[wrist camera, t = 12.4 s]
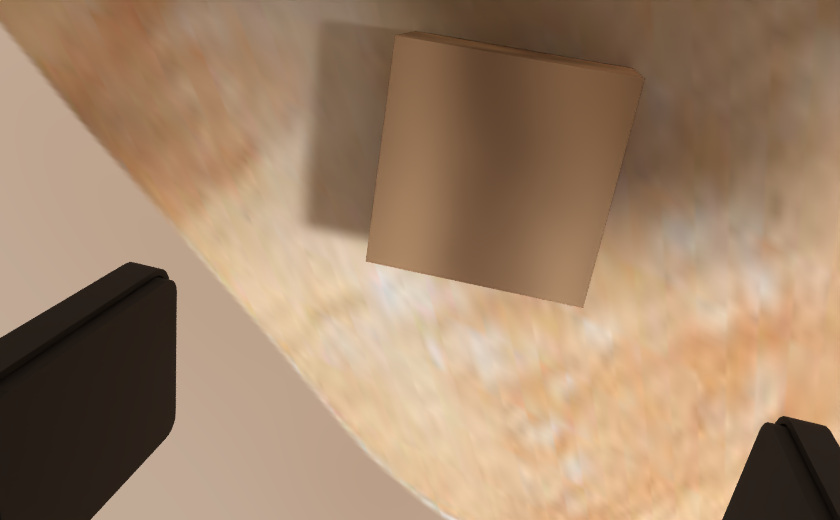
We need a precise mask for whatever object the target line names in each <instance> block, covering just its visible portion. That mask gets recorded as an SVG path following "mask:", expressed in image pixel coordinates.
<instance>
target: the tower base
mask: <svg viewBox="0 0 840 520" xmlns="http://www.w3.org/2000/svg"><path fill="white" fill-rule="evenodd" d="M644 80H645V78H643V77H642V76H641V75H640V74H639V73H638V72H636V71H635V70H634V69H633V68H627V67H621V66H615V65H610V64H604V63H598V62H592V61H586V60H580V59H575V58H569V57H563V56H557V55H551V54H546V53H540V52H534V51H528V50H522V49H516V48H511V47H505V46H499V45H493V44H487V43H482V42H476V41H470V40H464V39H458V38H453V37H447V36H441V35H435V34H429V33H423V32H418V31H414V32H410V33H405V34H400V35H395V40H394V48H393V56H392V63H391V71H390V79H389V86H388V94H387V102H386V110H385V117H384V125H383V133H382V140H381V148H380V156H379V163H378V171H377V179H376V186H375V194H374V202H373V210H372V217H371V225H370V233H369V240H368V248H367V256H366V261H367V262H371V263H376V264H381V265H385V266H390V267H395V268H399V269H404V270H408V271H413V272H418V273H422V274H427V275H432V276H436V277H441V278H446V279H450V280H455V281H460V282H464V283H469V284H474V285H478V286H483V287H488V288H492V289H497V290H502V291H506V292H511V293H516V294H520V295H525V296H530V297H534V298H539V299H544V300H548V301H553V302H558V303H562V304H567V305H572V306H576V307H581V308H583V306H584V303H585V299H586V295H587V291H588V288H589V284H590V280H591V277H592V273H593V269H594V265H595V262H596V258H597V254H598V251H599V247H600V243H601V239H602V236H603V232H604V228H605V225H606V221H607V217H608V214H609V210H610V206H611V202H612V199H613V195H614V191H615V188H616V184H617V180H618V176H619V173H620V169H621V165H622V162H623V158H624V154H625V151H626V147H627V143H628V139H629V136H630V132H631V128H632V125H633V121H634V117H635V113H636V110H637V106H638V102H639V99H640V95H641V91H642V87H643V84H644Z"/></svg>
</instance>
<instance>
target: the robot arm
mask: <svg viewBox="0 0 840 520" xmlns="http://www.w3.org/2000/svg"><path fill="white" fill-rule="evenodd" d="M176 302H177V290H176V285H175V283H174V281H172V280H169V277H168V275H167V272H166V271H165V270H163V269H159V268H155V267H151V266H146V265H142V264H138V263H133V262H129V263H126V264H124V265H122V266H121V267H119V268H117V269H116V270H114V271H112V272H111V273H109V274H107V275H105V276H104V277H102V278H100V279H99V280H97V281H96V282H94V283H92V284H90V285H89V286H87V287H85V288H84V289H82V290H80V291H79V292H77V293H75V294H74V295H72V296H70V297H69V298H67V299H65V300H64V301H62V302H60V303H58V304H57V305H55V306H53V307H52V308H50V309H48V310H47V311H45V312H43V313H42V314H40V315H38V316H37V317H35V318H33V319H31V320H30V321H28V322H26V323H25V324H23V325H21V326H20V327H18V328H17V329H15V330H13V331H11V332H10V333H8V334H6V335H5V336H3V337H1V338H0V520H91V519H92V517H93V516H94V515H95V514H96V513H97V512H98V511H99V510H100V509H101V508H102V506H104V505H105V503H106V502H107V501H108V500H109V499H110V498H111V497H112V496H113V495H114V494H115V493H116V491H118V489H119V488H120V487H121V486H122V485H123V484H124V483H125V482H126V481H127V480H128V479H129V477H130V476H131V475H132V474H133V473H134V472H135V471H136V470H137V469H138V468H139V467H140V466H141V465H142V463H143V462H144V461H145V460H146V459H147V458H148V457H149V456H150V455H151V454H152V453H153V452H154V450H155V449H156V448H157V447H158V446H159V445H160V444H161V443H162V442H163V441H164V440H165V439H166V437H167V436H168V435H169V433H170V431H171V430H172V427H173V424H174V421H175V411H176V309H177V307H176V304H177V303H176ZM722 520H840V447H839V445H838V443H837V442H836V440H835V438H834V436H833V435H832V433H831V431H830V430H829V429H828V428H827V427H826V426H823V425H820V424H815V423H811V422H807V421H803V420H798V419H794V418H790V417H786V416H783V417H780V418H779V419H778V420H777V421H776V422H775V424H773V423H769V422H767V423H765V424H764V425H763V426H762V427H761V429H760V431H759V433H758V436H757V438H756V440H755V443H754V445H753V448H752V450H751V452H750V455H749V457H748V460H747V462H746V464H745V467H744V469H743V472H742V474H741V476H740V479H739V481H738V483H737V486H736V488H735V491H734V493H733V495H732V498H731V500H730V503H729V505H728V507H727V510H726V512H725V515H724V517H723V519H722Z"/></svg>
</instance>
